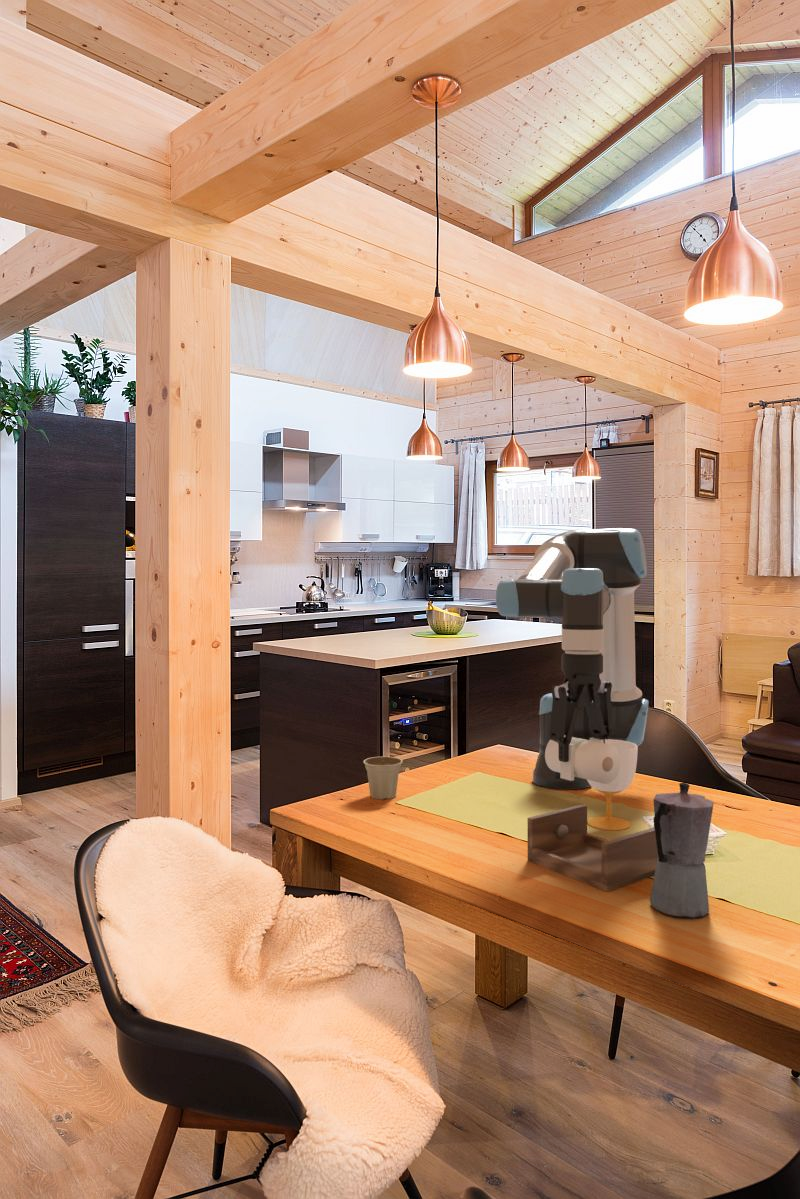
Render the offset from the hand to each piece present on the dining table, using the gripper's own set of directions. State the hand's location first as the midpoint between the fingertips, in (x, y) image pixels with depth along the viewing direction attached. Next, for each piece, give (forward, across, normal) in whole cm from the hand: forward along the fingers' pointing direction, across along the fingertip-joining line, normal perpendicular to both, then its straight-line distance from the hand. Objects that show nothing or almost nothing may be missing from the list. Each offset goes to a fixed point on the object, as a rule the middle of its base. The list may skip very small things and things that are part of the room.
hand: (582, 776), depth 151 cm
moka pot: (+16, +3, +24) cm, 29 cm away
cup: (+16, -22, -13) cm, 30 cm away
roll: (0, +1, 0) cm, 1 cm away
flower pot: (+16, +5, -59) cm, 61 cm away
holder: (+16, 0, +3) cm, 16 cm away
